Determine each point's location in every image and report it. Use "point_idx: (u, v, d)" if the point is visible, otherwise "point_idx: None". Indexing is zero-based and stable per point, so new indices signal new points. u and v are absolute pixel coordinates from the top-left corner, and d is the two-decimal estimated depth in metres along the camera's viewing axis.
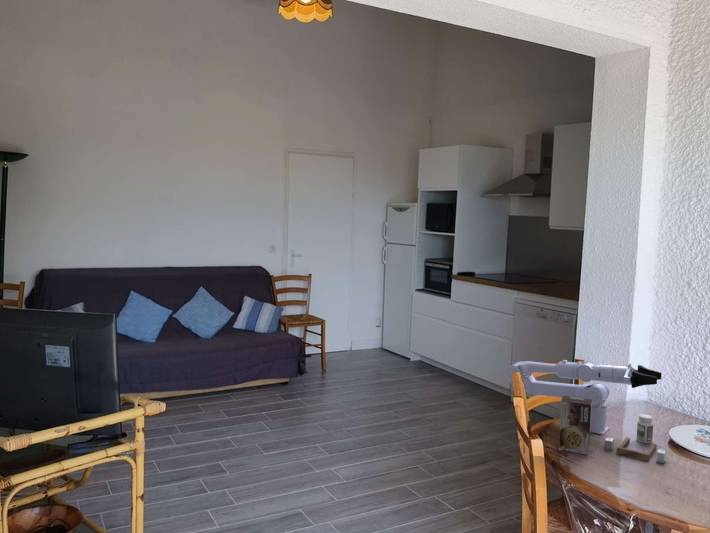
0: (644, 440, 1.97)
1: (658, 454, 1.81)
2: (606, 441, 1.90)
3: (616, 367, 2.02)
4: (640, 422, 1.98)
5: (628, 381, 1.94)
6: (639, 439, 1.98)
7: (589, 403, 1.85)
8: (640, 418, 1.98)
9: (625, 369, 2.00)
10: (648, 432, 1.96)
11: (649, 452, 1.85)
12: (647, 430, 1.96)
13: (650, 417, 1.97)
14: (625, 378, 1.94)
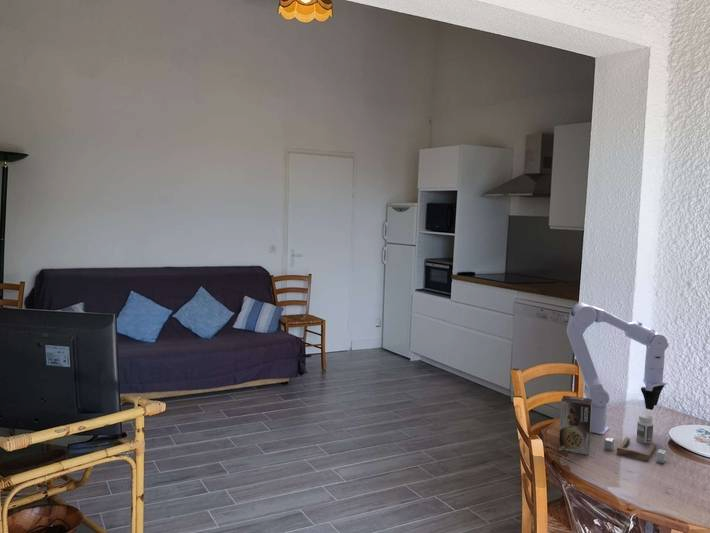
0: (644, 440, 1.97)
1: (658, 454, 1.81)
2: (606, 441, 1.90)
3: (661, 372, 2.01)
4: (640, 422, 1.98)
5: (647, 389, 1.99)
6: (639, 439, 1.98)
7: (589, 403, 1.85)
8: (640, 418, 1.98)
9: (660, 381, 2.01)
10: (648, 432, 1.96)
11: (649, 452, 1.85)
12: (647, 430, 1.96)
13: (650, 417, 1.97)
14: (650, 387, 1.98)
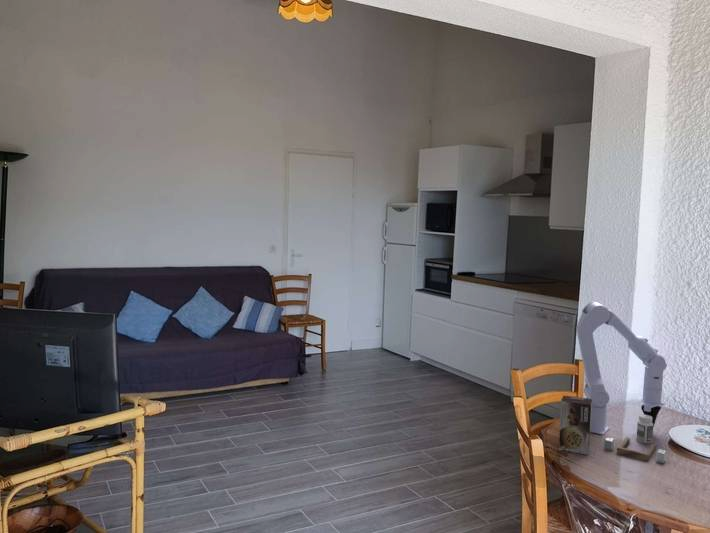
0: (644, 440, 1.97)
1: (658, 454, 1.81)
2: (606, 441, 1.90)
3: (660, 392, 2.02)
4: (640, 422, 1.98)
5: (645, 409, 1.99)
6: (639, 439, 1.98)
7: (589, 403, 1.85)
8: (640, 418, 1.98)
9: (658, 401, 2.02)
10: (648, 432, 1.96)
11: (649, 452, 1.85)
12: (647, 430, 1.96)
13: (650, 417, 1.97)
14: (649, 407, 1.99)
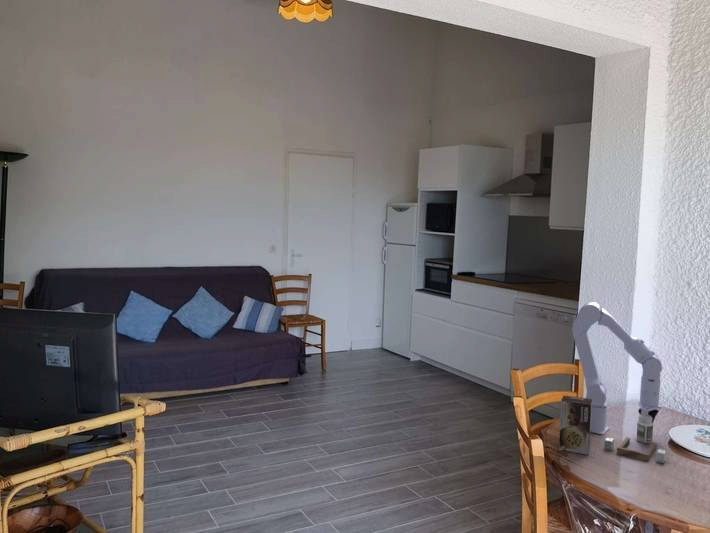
0: (644, 440, 1.97)
1: (658, 454, 1.81)
2: (606, 441, 1.90)
3: (657, 395, 1.98)
4: (640, 422, 1.97)
5: (643, 413, 1.95)
6: (639, 439, 1.98)
7: (589, 403, 1.85)
8: (640, 418, 1.97)
9: (655, 404, 1.98)
10: (648, 432, 1.96)
11: (649, 452, 1.85)
12: (647, 430, 1.96)
13: (650, 417, 1.97)
14: (646, 411, 1.95)
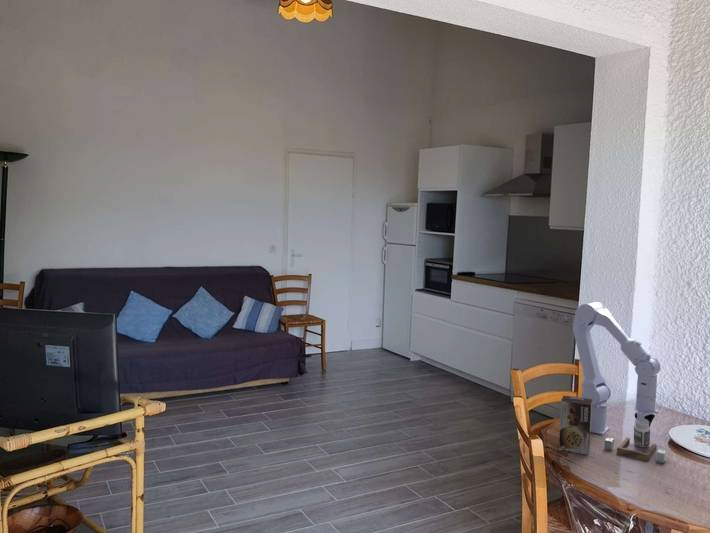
0: (642, 445, 1.92)
1: (658, 454, 1.81)
2: (606, 441, 1.90)
3: (654, 400, 1.93)
4: (637, 428, 1.92)
5: (639, 418, 1.90)
6: (636, 443, 1.94)
7: (589, 403, 1.85)
8: (636, 424, 1.92)
9: (652, 409, 1.93)
10: (645, 438, 1.91)
11: (649, 452, 1.85)
12: (644, 435, 1.91)
13: (646, 422, 1.91)
14: (642, 416, 1.89)
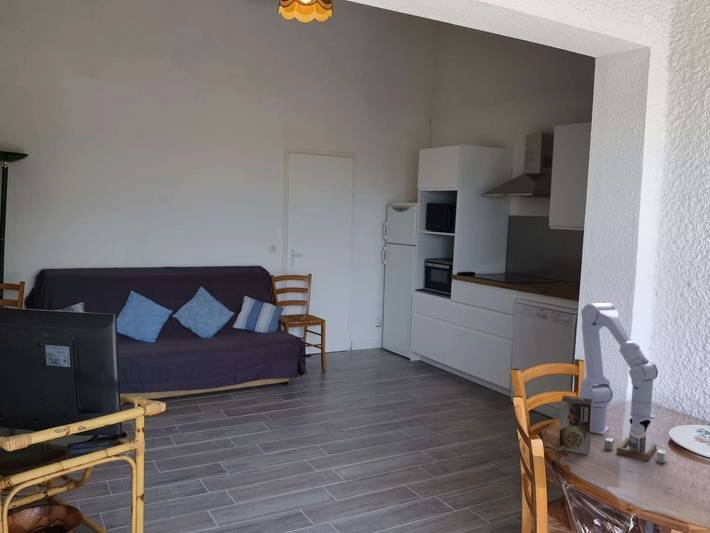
0: None
1: (658, 454, 1.81)
2: (606, 441, 1.90)
3: (649, 405, 1.87)
4: (632, 434, 1.87)
5: (634, 424, 1.85)
6: None
7: (589, 403, 1.85)
8: (632, 430, 1.86)
9: (647, 414, 1.87)
10: (641, 444, 1.86)
11: (649, 452, 1.85)
12: (639, 441, 1.86)
13: (642, 428, 1.86)
14: (637, 421, 1.84)
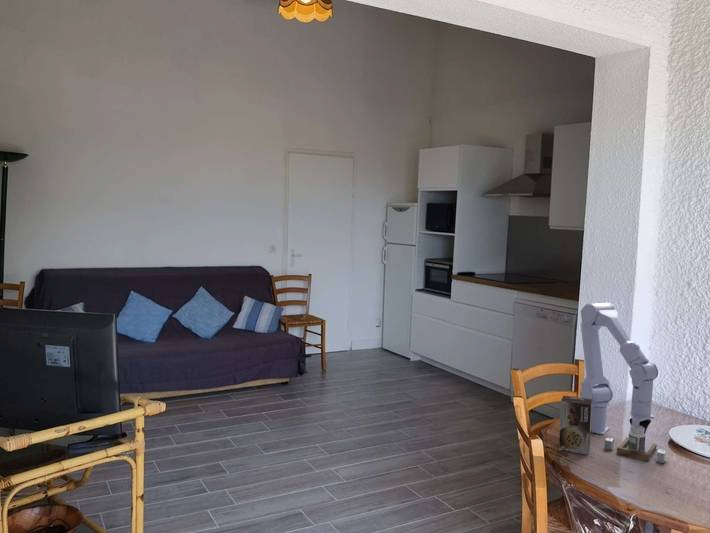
0: None
1: (658, 454, 1.81)
2: (606, 441, 1.90)
3: (649, 405, 1.88)
4: (632, 433, 1.87)
5: (633, 423, 1.85)
6: None
7: (589, 403, 1.85)
8: (632, 429, 1.87)
9: (647, 414, 1.88)
10: (640, 444, 1.86)
11: (649, 452, 1.85)
12: (639, 441, 1.85)
13: (642, 428, 1.86)
14: (637, 421, 1.85)
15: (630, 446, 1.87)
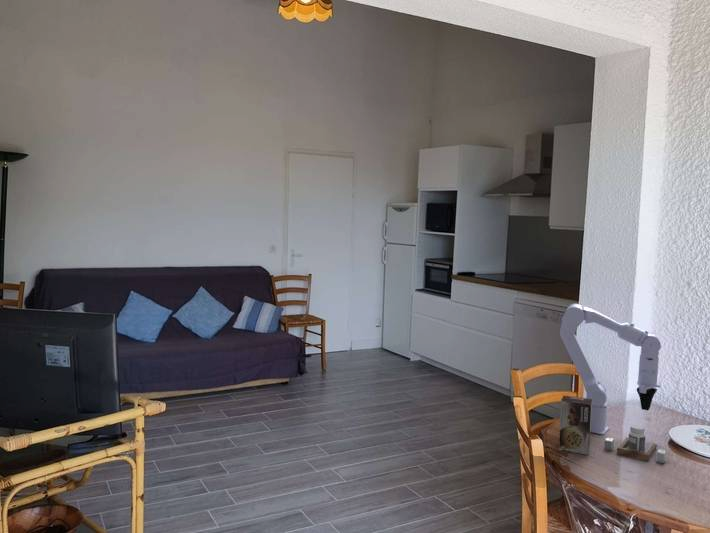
0: None
1: (658, 454, 1.81)
2: (606, 441, 1.90)
3: (656, 374, 1.98)
4: (632, 433, 1.87)
5: (641, 391, 1.96)
6: None
7: (589, 403, 1.85)
8: (632, 429, 1.87)
9: (654, 383, 1.98)
10: (640, 444, 1.86)
11: (649, 452, 1.85)
12: (639, 441, 1.86)
13: (642, 428, 1.87)
14: (644, 389, 1.95)
15: (630, 446, 1.87)
